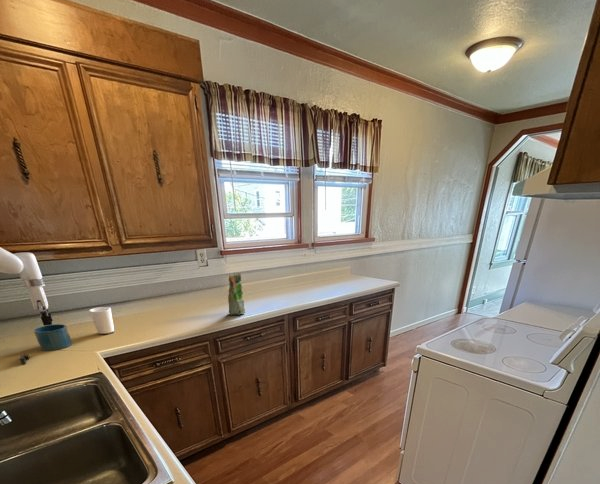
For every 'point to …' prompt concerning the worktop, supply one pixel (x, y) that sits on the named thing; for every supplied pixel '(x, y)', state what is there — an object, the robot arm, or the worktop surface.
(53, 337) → the crock
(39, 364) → the worktop surface
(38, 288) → the robot arm
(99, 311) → the cup
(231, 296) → the pouch
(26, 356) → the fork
